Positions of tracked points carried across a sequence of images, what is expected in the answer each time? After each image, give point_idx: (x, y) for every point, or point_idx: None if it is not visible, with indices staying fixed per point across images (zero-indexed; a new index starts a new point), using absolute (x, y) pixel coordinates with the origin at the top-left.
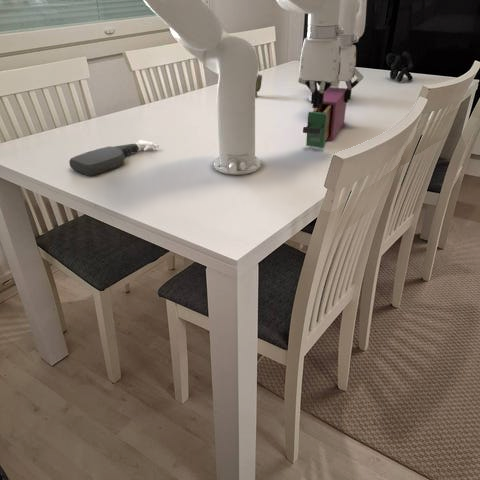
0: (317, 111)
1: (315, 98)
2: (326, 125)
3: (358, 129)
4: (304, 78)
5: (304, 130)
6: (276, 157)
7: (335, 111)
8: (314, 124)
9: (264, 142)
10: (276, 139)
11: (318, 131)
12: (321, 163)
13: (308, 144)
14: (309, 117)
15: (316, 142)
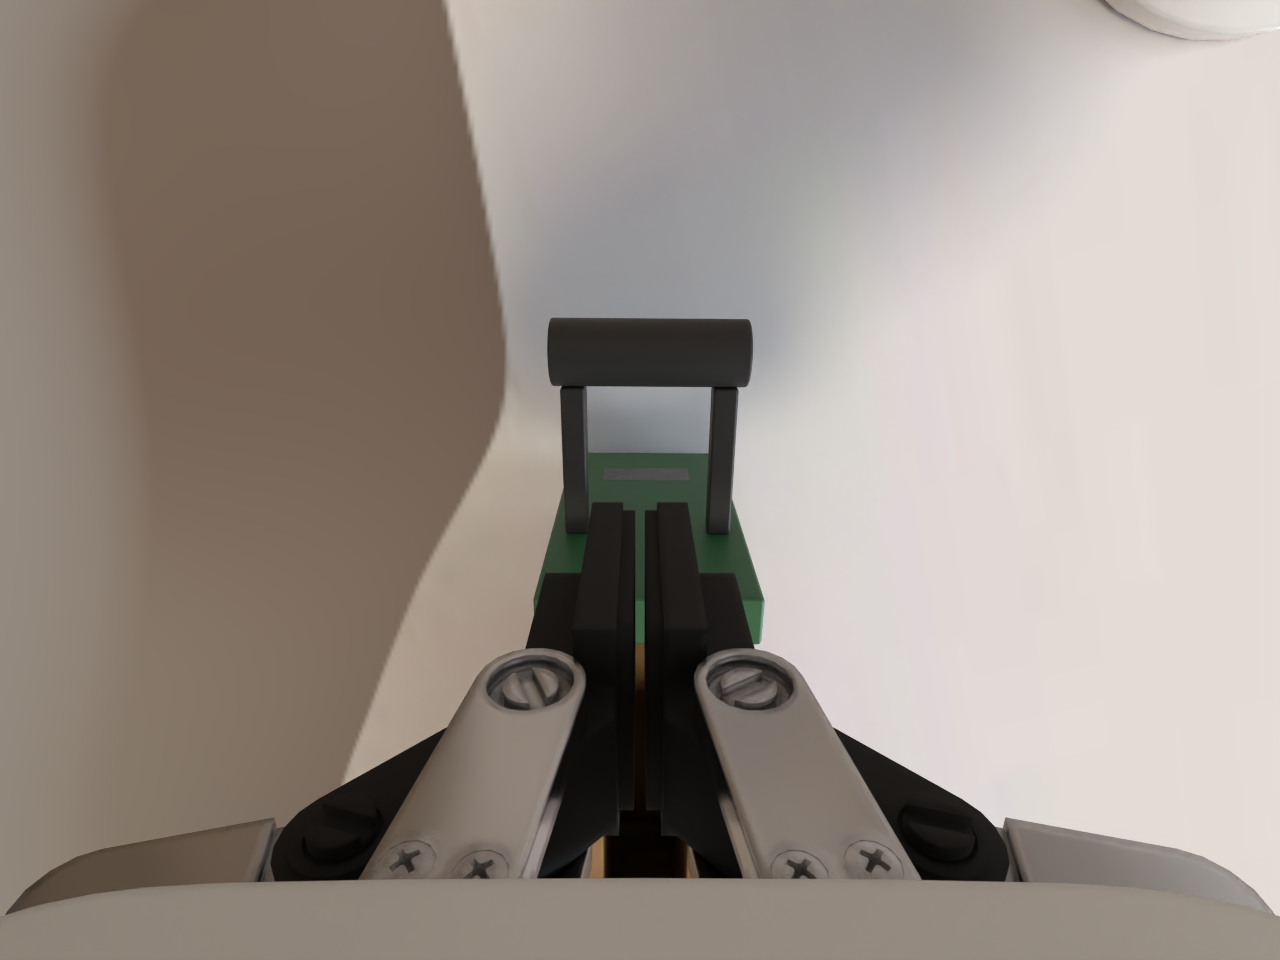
0: None
1: (656, 580)
2: None
3: None
4: (1168, 896)
5: (730, 319)
6: (918, 161)
7: None
8: None
9: (1072, 472)
10: (983, 562)
11: (564, 321)
12: (509, 158)
13: (699, 457)
14: (736, 568)
15: (632, 466)
